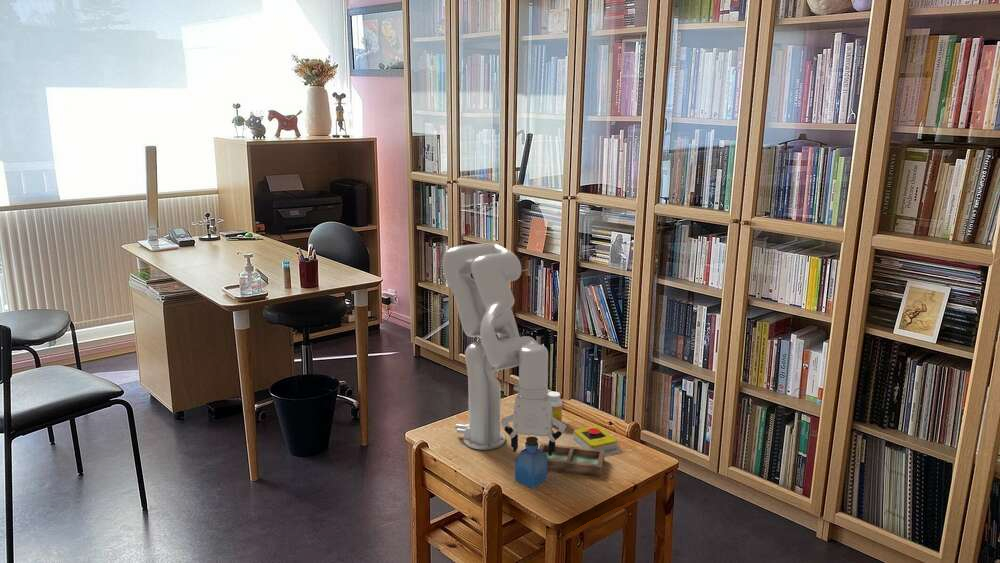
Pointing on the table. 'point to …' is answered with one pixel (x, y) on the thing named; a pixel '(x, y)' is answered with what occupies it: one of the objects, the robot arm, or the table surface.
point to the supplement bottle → (556, 405)
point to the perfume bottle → (531, 464)
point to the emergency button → (596, 439)
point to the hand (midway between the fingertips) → (533, 451)
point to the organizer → (574, 460)
